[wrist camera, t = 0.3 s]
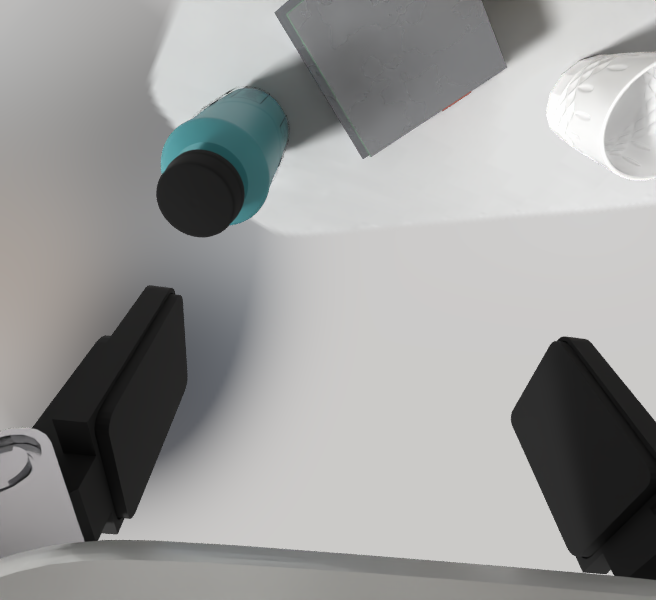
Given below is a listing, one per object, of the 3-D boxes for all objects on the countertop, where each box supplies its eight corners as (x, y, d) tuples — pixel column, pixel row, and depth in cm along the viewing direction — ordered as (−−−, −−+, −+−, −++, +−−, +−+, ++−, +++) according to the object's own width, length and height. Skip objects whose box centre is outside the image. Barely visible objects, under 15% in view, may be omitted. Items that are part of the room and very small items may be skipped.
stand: (426, -115, 28) (447, -148, 23) (496, 66, 34) (525, 72, 29) (276, 13, 32) (265, 9, 27) (362, 155, 38) (366, 174, 33)
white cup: (538, 158, 38) (596, 193, 30) (538, 63, 34) (606, 73, 26) (630, 134, 37) (718, 163, 29) (641, 33, 33) (748, 33, 24)
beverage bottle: (240, 66, 34) (152, 97, 17) (307, 115, 36) (286, 186, 19) (205, 134, 37) (102, 217, 20) (269, 176, 39) (223, 283, 22)
